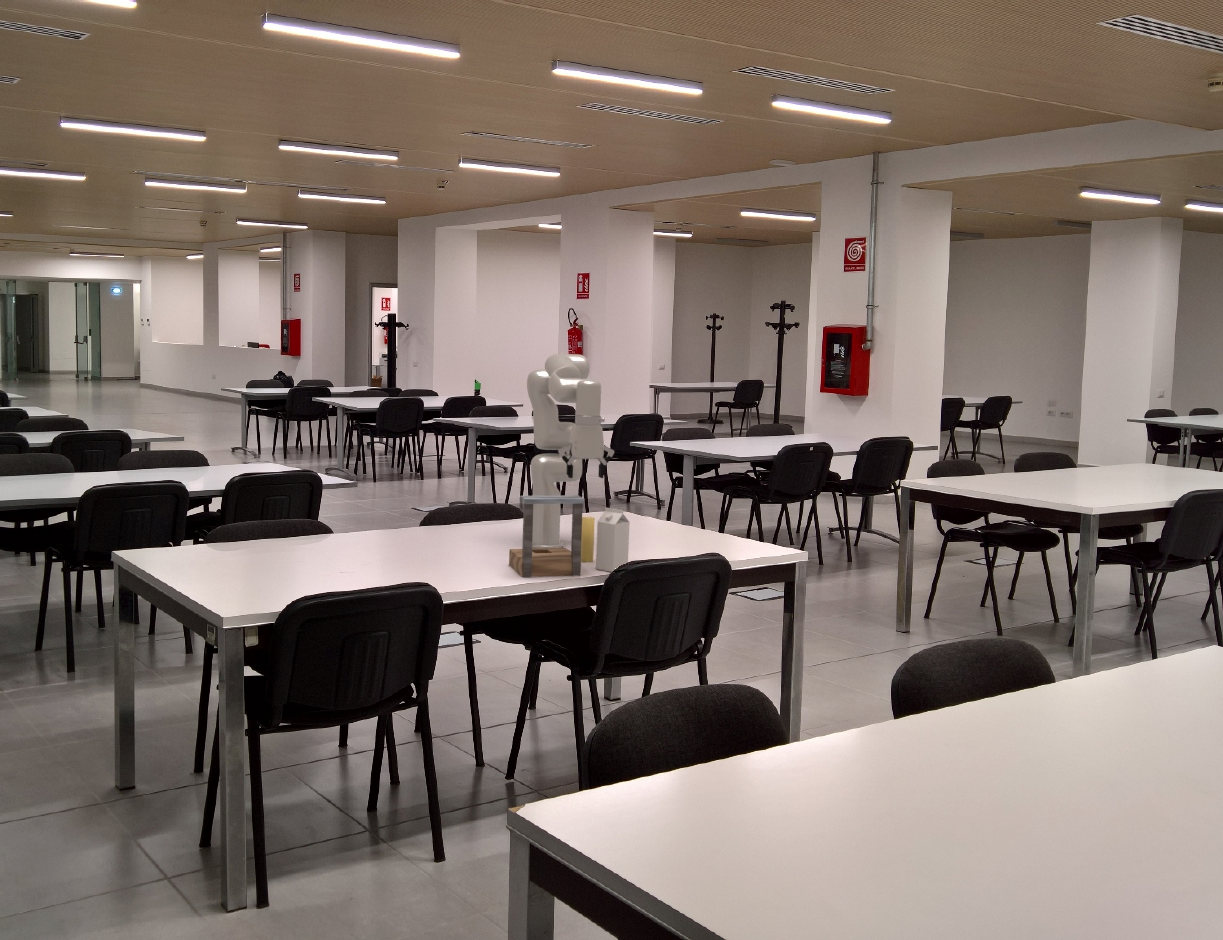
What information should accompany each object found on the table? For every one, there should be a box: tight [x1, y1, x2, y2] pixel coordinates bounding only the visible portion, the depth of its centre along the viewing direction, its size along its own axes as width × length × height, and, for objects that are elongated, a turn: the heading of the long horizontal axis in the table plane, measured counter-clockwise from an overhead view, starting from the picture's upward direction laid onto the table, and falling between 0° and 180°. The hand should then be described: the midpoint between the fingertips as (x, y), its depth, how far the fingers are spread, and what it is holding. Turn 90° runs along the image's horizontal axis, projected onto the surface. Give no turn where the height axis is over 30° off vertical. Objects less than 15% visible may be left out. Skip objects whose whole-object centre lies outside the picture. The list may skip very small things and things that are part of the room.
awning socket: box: [508, 494, 585, 578], centre depth 340 cm, size 20×18×23 cm
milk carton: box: [595, 507, 630, 573], centre depth 346 cm, size 7×7×19 cm
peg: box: [581, 516, 595, 563], centre depth 358 cm, size 4×4×14 cm
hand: (585, 477), depth 341 cm, fingers open, 9 cm apart
